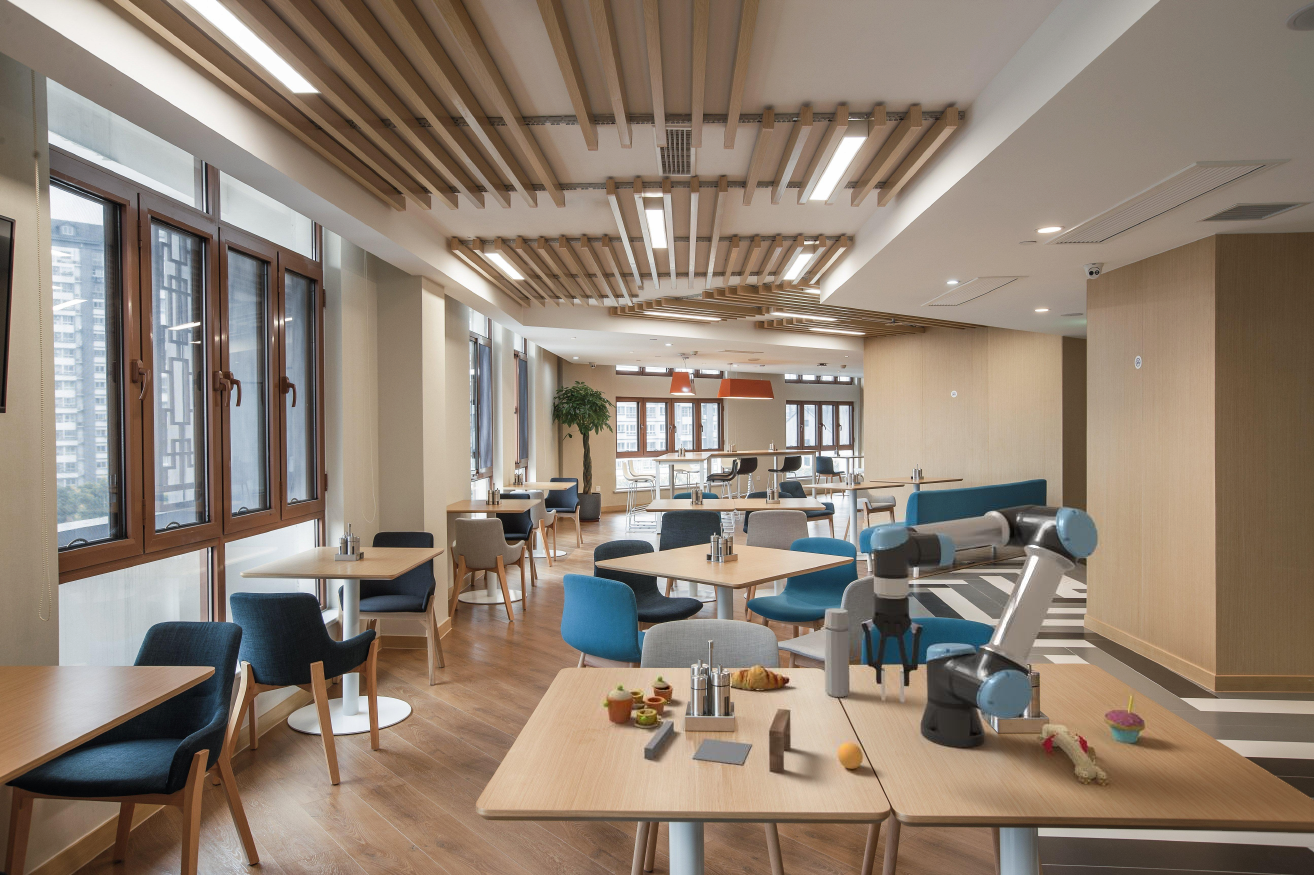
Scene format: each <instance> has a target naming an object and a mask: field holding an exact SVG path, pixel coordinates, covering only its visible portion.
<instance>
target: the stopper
mask: <svg viewBox="0 0 1314 875" xmlns="http://www.w3.org/2000/svg"><path fill="white" fill-rule="evenodd" d="M674 723H675V722H674V721H672V720H665V722H664V723H663V724H662V725H661V727H660V728H659V729H658V730H657V732H655V734H654V735H653V737H652V738H651V739H650V740H649V741H648V743H646V745H645V746H644V748H643V750H644V752H643V754H644V757H643V758H644V759H648V760H653V759H654V758H655V757H656V755H657V754H658V752H660V750H661V749H662V747H663V746H664V745H665V743H666V742H667V741H668V740H669V738H670V737H671V735H672V734H673V733H674V731H675V728H674V727H675V726H674V725H675V724H674Z"/></svg>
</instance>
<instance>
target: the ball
mask: <svg viewBox="0 0 1314 875" xmlns="http://www.w3.org/2000/svg"><path fill="white" fill-rule="evenodd" d="M837 757H838V761H839V762H840V764H841V765H842V766H843V767H844V768H846V769H848V770H849V769H850V770H853V769H857V768H859V766H860V767H861V765H862V763H863V760H864V759H863V758H864V756H863V752H862V750H861V748H860V747H859V746H858V745H857V744H855V743H853V742H845V743H843V744H842V745H841V746H840V747H839V748H838V750H837Z"/></svg>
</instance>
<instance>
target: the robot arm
mask: <svg viewBox="0 0 1314 875" xmlns="http://www.w3.org/2000/svg"><path fill="white" fill-rule="evenodd" d="M1096 527H1097V526H1096V523H1095V522H1094V519H1093V518H1092V517H1091V515H1089V513H1087V512H1086V511H1084V510H1082V509H1078V508H1072V507H1068V506H1061V507H1059V506H1047V505H1046V506H1045V505H1036V504H1027V505H1018V506H1014V507H1013V506H1012V507H1008V508H1001V509H998V510H991V511H987V512H986V513H985V514H984V515H983V516H974V517H967V518H961V519H953V520H947V521H946V520H945V521H939V522H932V523H931V522H930V523H925V524H919V525H911V526H904V527H903V526H893V525H891V526H890V525H889V526H887V525H885V526H877V527H876V528H874V530H873V533H872V534H871V537H870V543H869V544H870V548H871V550H872V551H873V592H874V594H875V595H874V597H873V604H874V605H873V606H874V607H873V608H874V609H873V610H874V612H873V616H872V619H869V620H863V621H862V622H861V628H862V631H863V632H864V636H865V639H864V640H865V648H866V649H865V650H866V660H867V662H866V663H867V666H868V667H869V668H873V669H874V670H875V682H876V684H878V685H881V701H886V668H885V667H882V666H883V661H884V657H885V656H884V655H885V649H886V644H887V638H891V637H893V638H896V640H897V643H898V648H899V653H900V659H901V664H902V668H900V669H899V678H900V679H899V682H900V683H899V686H900V687H899V689H900V694H899V695H900V703H905V687H909V686H910V673H911V672H912V671H917V670H918V668H919V652H920V651H919V650H920V637H921V635H922V634H923V633H922V632H924V631H923V630H924V628H923V625H922V624H920V623H919V624H918V623H915V622H913V621H912V619H911V617H910V599H909V597H908V595H909V592H910V591H909V590H910V589H909V588H910V586H909V585H910V583H909V578H910V577H909V569H913V568H928V567H929V568H930V567H931V568H933V567H936V568H939V567H945V566H948V565H950V564H951V563H953V562H954V560H955V557H956V551H958V550H965V549H971V548H978V547H985V546H992V547H994V548H996V549H997V548H1004V547H1007V548H1009V547H1011V548H1020V549H1023V550H1024V553H1025V554H1026V559H1025V562H1024V564H1023V566H1022V568H1021V571H1020V573H1019V575H1018V577H1017V580H1016V581H1015V585H1014V586H1013V588H1012V591H1011V593H1010V595H1009V598H1008V600H1007V601H1006V604H1005V607H1004V608H1003V610H1002V613H1001V616H1000V618H999V619H998V622H997V624H996V626H995V629H994V631H993V633H992V636H991V638H990V641H989V642H988V643H986V644H983V645H979V647H978V649H977V651H976V648H975V646H973V645H971V644H967V643H955V642H949V643H947V642H946V643H944V642H943V643H935V644H934V643H933V644H932V645H930V646H928V648H927V650H926V659H925V662H926V663H925V664H926V689H927V690H926V691H927V693H926V696H927V698H926V699H927V702H926V705H925V708H924V712H923V715H922V717H921V721H920V734H921V736H923V737H924V738H925V739H927V740H929V741H931V742H933V743H935V744H938V745H943V746H947V747H955V748H973V747H978V746H981V745H983V744H984V743H985V742H986V736H985V733H986V732H985V728H984V725H983V723H982V720H981V717H980V714H979V711H978V710H980V711H981V712H983V713H985V714H986V715H989V716H993V717H996V718H998V719H1003V720H1009V719H1010V720H1011V719H1012V718H1016V717H1018V716H1020V715H1021V714H1023V713H1024V712H1025V711H1026V710H1027V708H1028V706H1030V703H1031V700H1032V697H1033V690H1032V688H1033V686H1032V682H1031V680H1030V679H1029V677H1028V676H1029V674H1030V671H1031V670H1030V667H1029V666H1028V663H1027V660H1028V658H1029V656H1030V654H1031V651H1032V648H1033V647H1034V644H1035V642H1036V639H1037V638H1038V637H1037V636H1038V635H1039V632H1040V629H1041V628H1042V626H1043V623H1044V620H1045V619H1046V616H1047V614H1048V611H1049V609H1050V607H1051V604H1052V602H1053V599H1054V598H1055V596H1056V595H1055V594H1056V593H1057V590H1058V589H1059V586H1060V584H1061V581H1062V580H1063V576H1064V574H1065V573H1066V572H1068V571H1069V572H1070V571H1072V570H1075V567H1076V565H1077V563H1078V560H1079V559H1084V558H1085V559H1086V558H1088V557H1090V556H1091V555H1093V554H1094V552H1095V551H1096V549H1097V547H1098V543H1099V542H1098V541H1099V534H1098V529H1097V528H1096ZM873 626H875V628H876V629H877V630H878V632H879V633H880V638H879V644H878V649H877V650H878V651H877V656H876V660H874V655H873V643H872V632H871V631H873ZM910 628H911V633H912V634H913V635H912V636H913V638H912V649H911V650H912V652H911V663H909V660H908V657H907V656H908V655H907V651H906V650H907V649H906V644H905V639H904V635H905V633H906V632H907V631H908V630H909V629H910Z"/></svg>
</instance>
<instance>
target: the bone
mask: <svg viewBox="0 0 1314 875" xmlns="http://www.w3.org/2000/svg"><path fill="white" fill-rule="evenodd" d="M1041 731H1042V733H1039V734H1036V735H1035V736H1036V740H1039V741H1040V742H1041V741H1042V742H1041V745H1042V746H1043V749H1044V750H1045V751H1046V753H1048V754H1049V755H1050V756H1054V754H1053V750H1052V747H1059V748H1060V749H1062V750H1063V751H1064V753H1066V754H1067V756H1069V758H1070V759H1071V760H1072V763H1073V764H1074V765H1075V767H1074V773H1075V774H1076V775H1077V776H1078V781H1079V783H1082V784H1085V785H1089V784H1091V783H1092V780H1093V779H1095V778H1096V782H1097V783H1098V784H1100V785H1101V786H1106V785H1110V779H1109V778H1108V777H1107V774H1106V772H1105V771H1103V770H1102V769H1101V768H1100V767H1099V766H1095V764H1096V763H1097V761H1098V758H1097V754H1096V750H1095V748H1094V746H1089V745H1088V741H1087V739H1084V737H1083V736H1081V735H1078V733H1075V735H1072V736H1070V733H1071V732H1070V731H1069V729H1067V728H1066V726H1065V725H1062V724H1052V723H1051V724H1049V723H1045V724H1044V725H1043V726H1042V727H1041ZM1078 743H1079V744H1078Z"/></svg>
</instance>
